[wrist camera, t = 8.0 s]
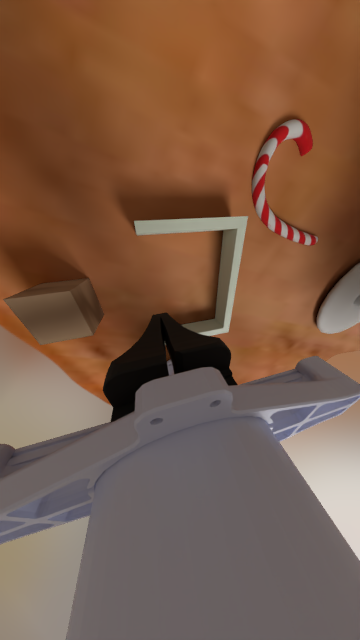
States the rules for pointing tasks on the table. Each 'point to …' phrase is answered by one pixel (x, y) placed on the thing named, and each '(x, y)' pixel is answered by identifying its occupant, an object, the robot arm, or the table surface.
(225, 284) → the sage corner frame
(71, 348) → the table surface
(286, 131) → the candy cane
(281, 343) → the table surface
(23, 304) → the tan cube
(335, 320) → the candelabra
